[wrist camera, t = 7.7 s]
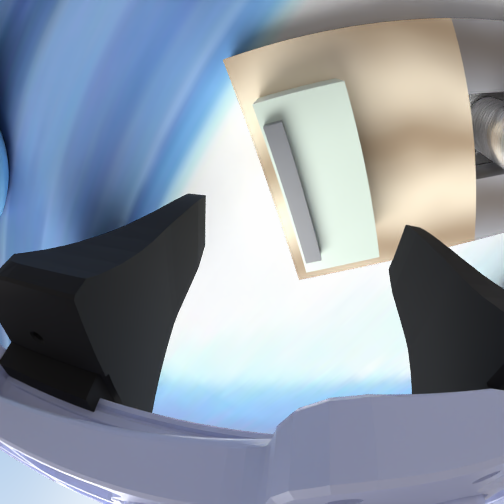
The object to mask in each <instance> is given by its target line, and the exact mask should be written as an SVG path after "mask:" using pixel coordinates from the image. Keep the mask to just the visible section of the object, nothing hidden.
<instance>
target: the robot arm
mask: <svg viewBox="0 0 504 504" xmlns="http://www.w3.org/2000/svg"><path fill="white" fill-rule="evenodd" d="M205 202H206V195H196V194H187V195H184V196H182V197H180V198H178V199H176V200H174V201H172V202H171V203H169V204H167V205H165V206H163V207H161V208H160V209H158V210H156V211H154V212H152V213H150V214H148V215H146V216H144V217H142V218H140V219H138V220H136V221H134V222H132V223H130V224H128V225H125V226H123V227H121V228H118V229H116V230H113V231H111V232H108V233H105V234H103V235H99V236H96V237H93V238H90V239H87V240H84V241H80V242H77V243H73V244H69V245H65V246H60V247H56V248H51V249H46V250H39V251H33V252H26V253H18V254H14V255H12V256H11V257H10V259H9V260H8V261H7V262H6V263H5V264H4V265H3V266H2V267H1V268H0V323H1V325H2V327H3V328H4V330H5V332H6V333H7V335H8V337H9V339H10V340H11V344H10V345H9V347H8V348H7V350H6V349H5V348H4V347H3V346H2V345H1V344H0V450H2V451H4V452H5V453H7V454H8V455H10V456H11V457H13V458H14V459H16V460H18V461H19V462H21V463H23V464H24V465H26V466H28V467H29V468H31V469H33V470H34V471H36V472H38V473H40V474H42V475H43V476H45V477H47V478H49V479H51V480H53V481H55V482H57V483H59V484H61V485H63V486H65V487H67V488H69V489H71V490H73V491H75V492H77V493H79V494H82V495H84V496H86V497H88V498H91V499H93V500H95V501H98V502H100V503H103V504H504V289H503V288H501V287H500V286H498V285H497V284H495V283H494V282H492V281H491V280H489V279H488V278H487V277H485V276H484V275H482V274H481V273H480V272H478V271H477V270H476V269H475V268H473V267H472V266H471V265H469V264H468V263H467V262H466V261H464V260H463V259H462V258H461V257H459V256H458V255H457V254H456V253H455V252H453V251H452V250H451V249H450V248H448V247H447V246H446V245H445V244H443V243H442V242H441V241H440V240H438V239H437V238H436V237H434V236H433V235H432V234H430V233H429V232H427V231H426V230H424V229H422V228H420V227H416V226H410V225H405V228H404V231H403V233H402V236H401V239H400V242H399V244H398V247H397V250H396V252H395V255H394V258H393V260H392V263H391V265H390V268H389V275H390V282H391V288H392V293H393V297H394V300H395V303H396V307H397V310H398V314H399V317H400V320H401V324H402V328H403V331H404V335H405V338H406V343H407V347H408V353H409V361H410V370H411V383H412V394H401V395H373V394H366V395H357V396H347V397H335V398H329V399H326V400H323V401H320V402H317V403H313V404H310V405H307V406H304V407H301V408H298V409H297V410H296V411H294V412H293V413H292V414H291V415H289V416H288V417H287V418H286V419H285V420H284V421H283V422H281V423H280V424H279V425H278V426H277V427H276V430H275V432H274V434H266V433H257V432H249V431H241V430H234V429H228V428H221V427H215V426H210V425H204V424H199V423H194V422H189V421H184V420H179V419H175V418H170V417H166V416H162V415H158V414H154V413H152V410H153V405H154V400H155V395H156V390H157V386H158V381H159V377H160V373H161V369H162V365H163V361H164V357H165V353H166V349H167V346H168V342H169V339H170V335H171V332H172V329H173V325H174V322H175V320H176V317H177V315H178V312H179V310H180V308H181V305H182V303H183V301H184V299H185V296H186V294H187V292H188V290H189V288H190V285H191V283H192V281H193V279H194V276H195V274H196V272H197V270H198V267H199V264H200V261H201V257H202V254H203V250H204V247H205Z"/></svg>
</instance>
